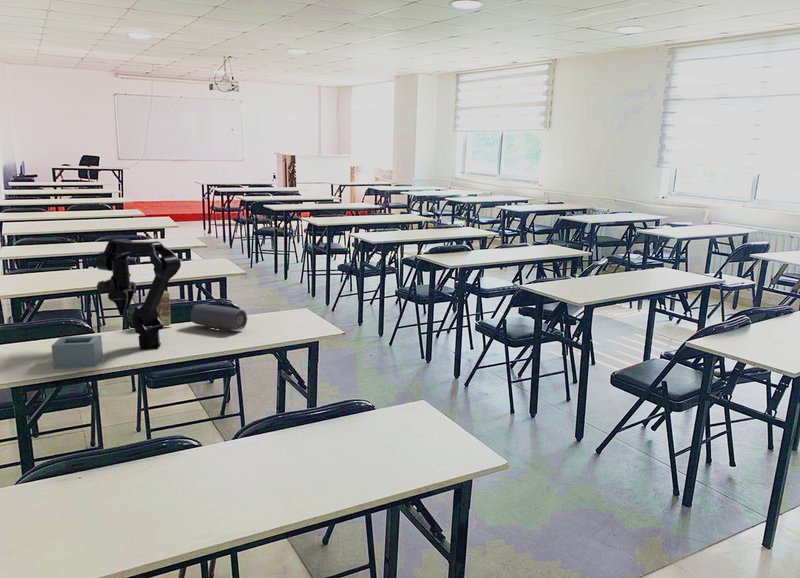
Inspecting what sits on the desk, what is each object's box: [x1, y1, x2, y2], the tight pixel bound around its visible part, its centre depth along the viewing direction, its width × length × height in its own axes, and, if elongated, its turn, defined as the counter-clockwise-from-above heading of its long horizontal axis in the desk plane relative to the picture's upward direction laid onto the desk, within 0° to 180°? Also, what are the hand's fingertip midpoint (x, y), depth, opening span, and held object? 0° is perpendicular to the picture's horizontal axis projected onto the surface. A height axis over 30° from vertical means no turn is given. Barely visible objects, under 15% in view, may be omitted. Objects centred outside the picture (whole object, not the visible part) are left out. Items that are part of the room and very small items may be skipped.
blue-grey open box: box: [51, 334, 104, 369], centre depth 209 cm, size 13×10×8 cm
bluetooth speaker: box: [189, 303, 248, 332], centre depth 251 cm, size 23×9×10 cm, turn 68°
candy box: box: [157, 289, 172, 327], centre depth 255 cm, size 9×4×15 cm, turn 39°
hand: (124, 312), depth 231 cm, fingers open, 9 cm apart
